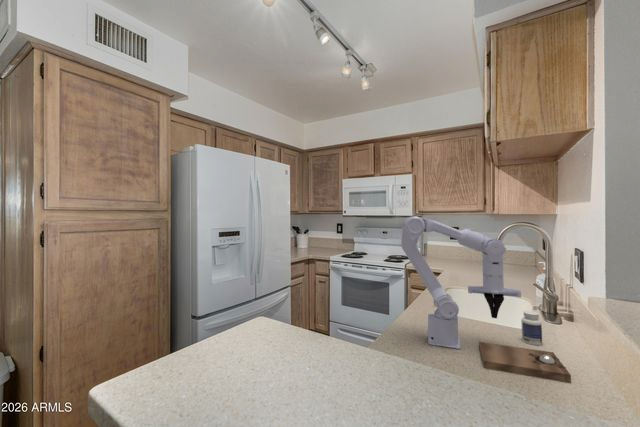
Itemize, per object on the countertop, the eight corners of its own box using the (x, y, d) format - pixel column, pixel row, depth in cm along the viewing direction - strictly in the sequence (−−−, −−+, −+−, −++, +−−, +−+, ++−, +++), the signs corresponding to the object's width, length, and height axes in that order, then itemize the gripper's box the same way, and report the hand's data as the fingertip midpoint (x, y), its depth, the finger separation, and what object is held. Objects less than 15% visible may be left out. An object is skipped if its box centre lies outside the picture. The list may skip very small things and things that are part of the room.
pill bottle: (546, 346, 91) (544, 315, 91) (527, 345, 92) (526, 314, 92) (536, 339, 96) (535, 310, 96) (519, 338, 97) (518, 309, 97)
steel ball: (549, 355, 76) (560, 367, 75) (545, 350, 79) (556, 361, 78) (537, 362, 77) (548, 373, 76) (534, 356, 80) (544, 367, 79)
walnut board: (483, 367, 78) (483, 360, 78) (479, 348, 90) (478, 341, 90) (572, 383, 70) (571, 375, 70) (554, 359, 82) (553, 352, 82)
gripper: (468, 275, 91) (469, 318, 91) (522, 279, 85) (524, 324, 85) (467, 271, 97) (468, 311, 97) (517, 274, 91) (519, 317, 91)
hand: (494, 317), depth 91 cm, fingers closed
